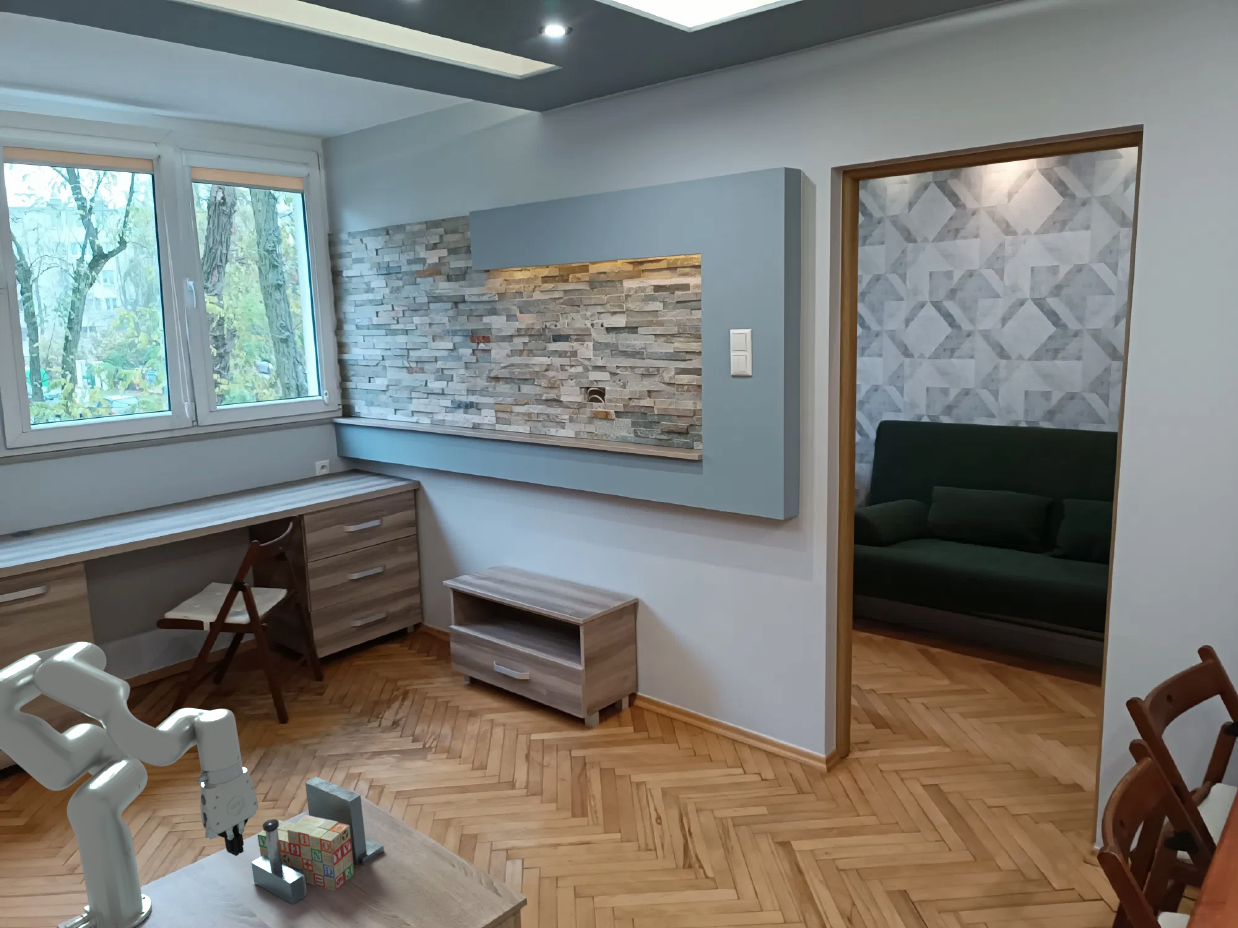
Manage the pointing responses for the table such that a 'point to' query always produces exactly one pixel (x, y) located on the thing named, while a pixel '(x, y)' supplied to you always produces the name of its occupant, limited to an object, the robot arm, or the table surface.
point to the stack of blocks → (315, 850)
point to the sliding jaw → (277, 869)
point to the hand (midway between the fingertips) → (235, 851)
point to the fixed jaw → (342, 815)
